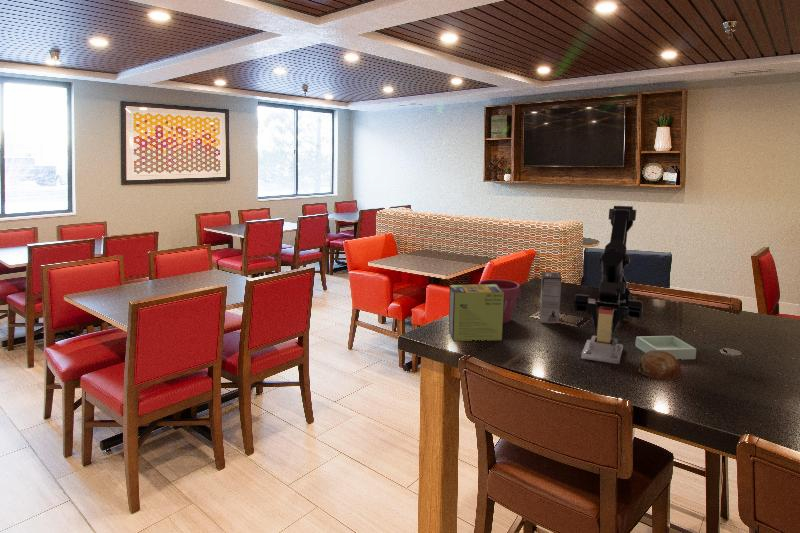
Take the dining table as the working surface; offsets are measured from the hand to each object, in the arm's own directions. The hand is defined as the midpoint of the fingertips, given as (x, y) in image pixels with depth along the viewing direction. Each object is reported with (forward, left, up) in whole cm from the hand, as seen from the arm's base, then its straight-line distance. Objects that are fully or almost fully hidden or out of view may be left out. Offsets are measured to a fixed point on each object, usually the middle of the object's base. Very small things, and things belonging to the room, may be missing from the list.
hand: (604, 331), depth 158 cm
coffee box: (-9, -33, -7) cm, 35 cm away
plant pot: (+7, -41, -7) cm, 42 cm away
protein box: (+24, -30, -7) cm, 39 cm away
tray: (-17, +7, -7) cm, 20 cm away
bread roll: (-3, +17, -7) cm, 19 cm away
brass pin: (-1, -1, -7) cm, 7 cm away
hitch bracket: (0, 0, -7) cm, 7 cm away
